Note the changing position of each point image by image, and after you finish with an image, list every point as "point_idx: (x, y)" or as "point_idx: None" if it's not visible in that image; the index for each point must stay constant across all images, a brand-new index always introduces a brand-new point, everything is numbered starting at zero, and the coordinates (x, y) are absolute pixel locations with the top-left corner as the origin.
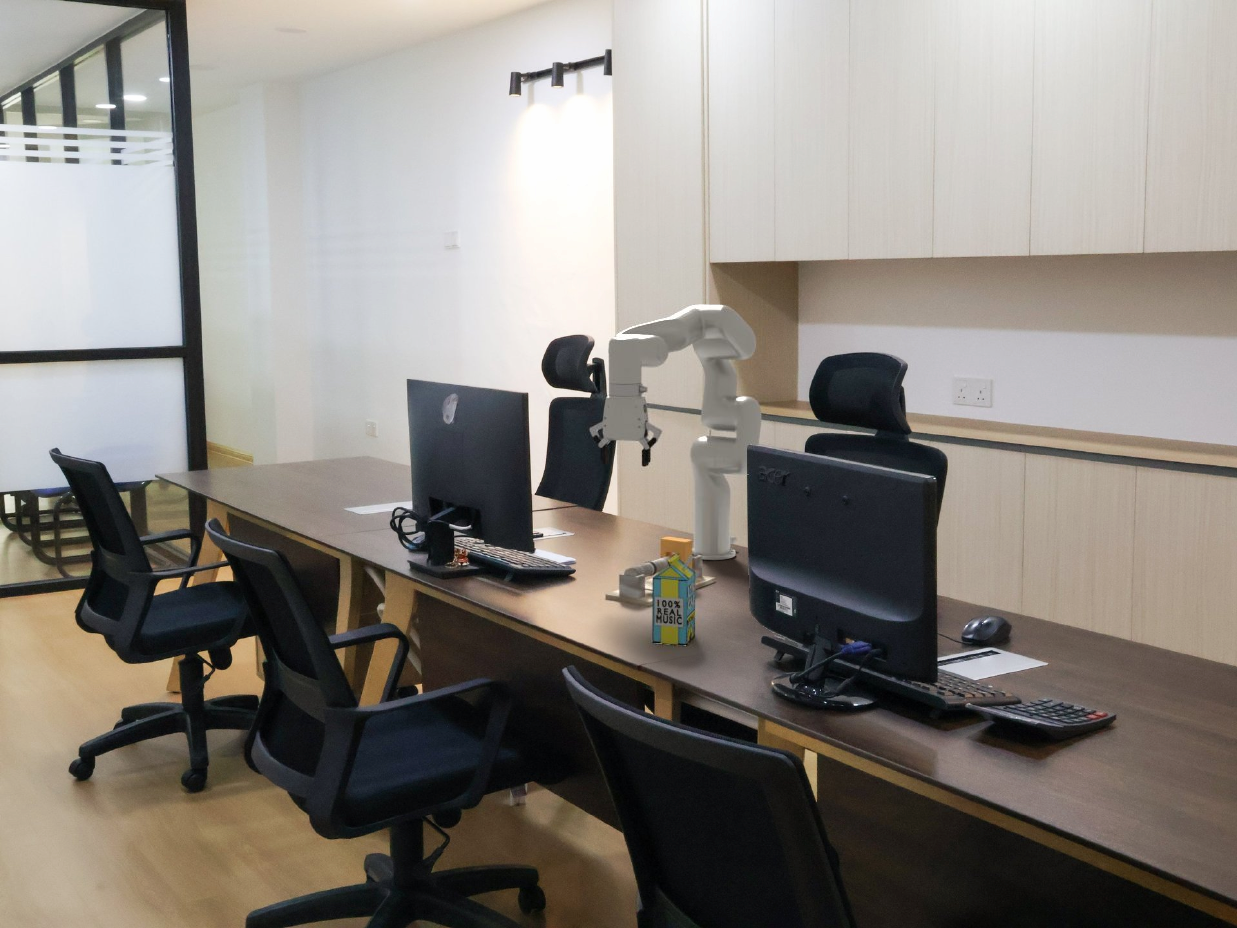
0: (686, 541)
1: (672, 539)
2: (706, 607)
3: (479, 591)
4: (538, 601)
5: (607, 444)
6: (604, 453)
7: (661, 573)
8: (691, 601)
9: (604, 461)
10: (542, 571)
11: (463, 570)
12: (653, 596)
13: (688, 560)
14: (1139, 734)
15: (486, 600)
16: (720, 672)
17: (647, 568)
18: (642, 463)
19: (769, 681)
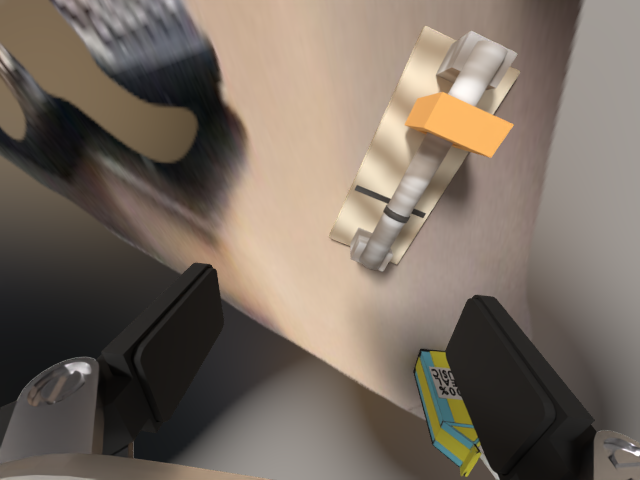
0: (494, 148)
1: (456, 131)
2: (478, 251)
3: (158, 234)
4: (251, 263)
5: (116, 403)
6: (185, 385)
7: (445, 451)
8: None
9: (212, 338)
10: (163, 80)
11: (45, 114)
12: (427, 420)
13: (490, 470)
14: None
15: None
16: None
17: (395, 238)
18: (454, 371)
19: None
